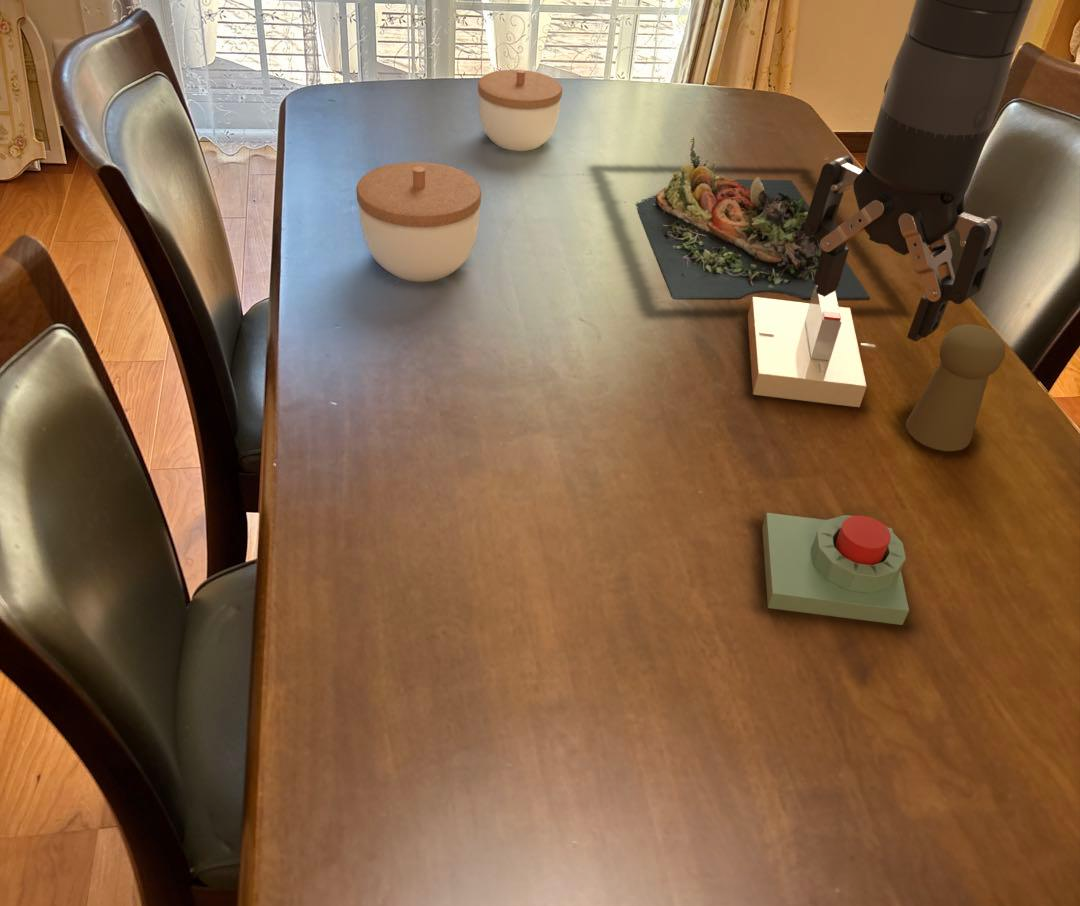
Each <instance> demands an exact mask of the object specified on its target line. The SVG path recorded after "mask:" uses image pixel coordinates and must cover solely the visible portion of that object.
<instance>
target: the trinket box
mask: <svg viewBox="0 0 1080 906" xmlns="http://www.w3.org/2000/svg"><path fill="white" fill-rule="evenodd" d="M477 92H478V114H479V120H480V123H481V125H482V126H481V127H482V129H483V132H485V134H486V136H487V137H488V138H489V140H490V141H491V142H492V143H493V144H495V145H496V146H498V147H500V148H502V149H505V150H508V151H509V150H510V151H516V152H525V151H531V150H535V149H538V148H539V147H541V146H542V145H544V144H545V143H546V142H547V141H548V140H549V139H550V137H551V136H552V134H553V133H554V131H555V129H556V126H557V123H558V119H559V115H560V110H561V109H560V108H561V99H562V96H563V87H562V85H561V83H560V82H559V81H558V80H556V79H555V78H553V77H551V76H549V75H547V74H545V73H541V72H536V71H532V70H525V69H504V70H503V69H502V70H495V71H492V72H489V73H487V74H484V75H483V76H481V77H480V78H479V80H478V82H477Z"/></svg>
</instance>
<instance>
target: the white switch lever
mask: <svg viewBox="0 0 1080 906" xmlns="http://www.w3.org/2000/svg"><path fill="white" fill-rule="evenodd" d="M816 289H817V285H815V287H814V290H813V294H812V297H811V299H810V301H809V303H810V304H809V308H808V311H807V315H806V319H805V321H806V328H807V335H808V341H809V348H810V354H811V358H812V359H821V360H830V359H831V355H832V352H833V349H834V346H835V342H836V339H837V336H838V333H839V330H840V326H841V323H842V321H841V316H840V311H839V307H840V305H839V302H838V301H839V300H837V296H836V291H834V292H832V293H830V294H829V295H827V296H825V297H824V296H822V295H820V294H818V293H816Z"/></svg>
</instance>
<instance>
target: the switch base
mask: <svg viewBox="0 0 1080 906" xmlns="http://www.w3.org/2000/svg"><path fill="white" fill-rule="evenodd" d="M809 304H810V302H801V301H794V300H793V301H792V300H784V299H775V298H768V297H758V296H751V300H750V305H749V310H748V314H747V328H748V342H749V355H750V356H749V357H750V370H751V372H750V373H751V385H752V395H753V396H761V397H762V396H763V397H770V398H777V399H787V400H794V401H795V400H796V401H805V402H812V403H821V404H828V405H829V404H830V405H837V406H846V407H852V408H860V407H861V406H862V405H861V403H862V401H863V399H864V395H865V394H866V393H865V392H866V390H867V386H868V385H867V380H866V376H865V371H864V367H863V363H862V358H861V357H862V356H861V351H860V348H859V345H860V347H863V348H873V349H875V348H876V344H874V343H873V344H872V343H864V342H861V343H860V344H859V343H858V339H857V334H856V328H855V323H854V320H853V314H852V310H851V309H852V308H851V307H844V306H839V311H840V316H841V321H842V323H841V326H840V330H839V333H838V336H837V339H836V342H835V346H834V349H833V352H832V355H831V359H830V360H821V359H812V358H811V354H810V348H809V341H808V335H807V328H806V321H805V319H806V315H807V311H808V308H809Z"/></svg>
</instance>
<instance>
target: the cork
mask: <svg viewBox="0 0 1080 906" xmlns="http://www.w3.org/2000/svg"><path fill="white" fill-rule="evenodd" d="M1005 347H1006V346H1005V342H1004V339H1002V337H1001V336H1000V335H999V334H997V333H996V332H995V331H994V330H992V329H989V328H988V327H985V326H983V325H977V324H968V323H967V324H966V323H965V324H960V325H959V324H958V325H956V326H955V327H953V328H951V329H950V330H949V331H948V332H947V333H946V334H945V336H944V337H943V339H942V340H941V342H940V346H939V360H940V362H939V365H937V367H936V369H935V371H934V373H933V375H932V376H931V378H930V380H929V381H928V383H927V385H926V386H925V388H924V390H923V392H922V394H921V395H920V397H919V399H918V400H917V402H916V404H915V406H913V409H912V410H911V412H910V414H909V416H908V417H907V419H906V421H905V428H906V431H907V432H908V434H909V435H910V436H911V437H912V438H913V439H914V440H915V441H916V442H918V443H920V444H921V445H923V446H925V447H928V448H930V449H933V450H937V451H942V452H956V451H962V450H964V449H965V448H967V447H969V445H970V443H971V442H972V438H973V434H974V430H975V427H976V423H977V420H978V416H979V413H980V410H981V405H982V403H983V398H984V394H985V391H986V387H987V384H988V380H989V377H990V376H991V375H992V374H993V375H994V373H996V372H997V370H998V369H999V368H1000V367H1001V366H1002V363H1003V361H1004V359H1005V354H1006V348H1005Z"/></svg>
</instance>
